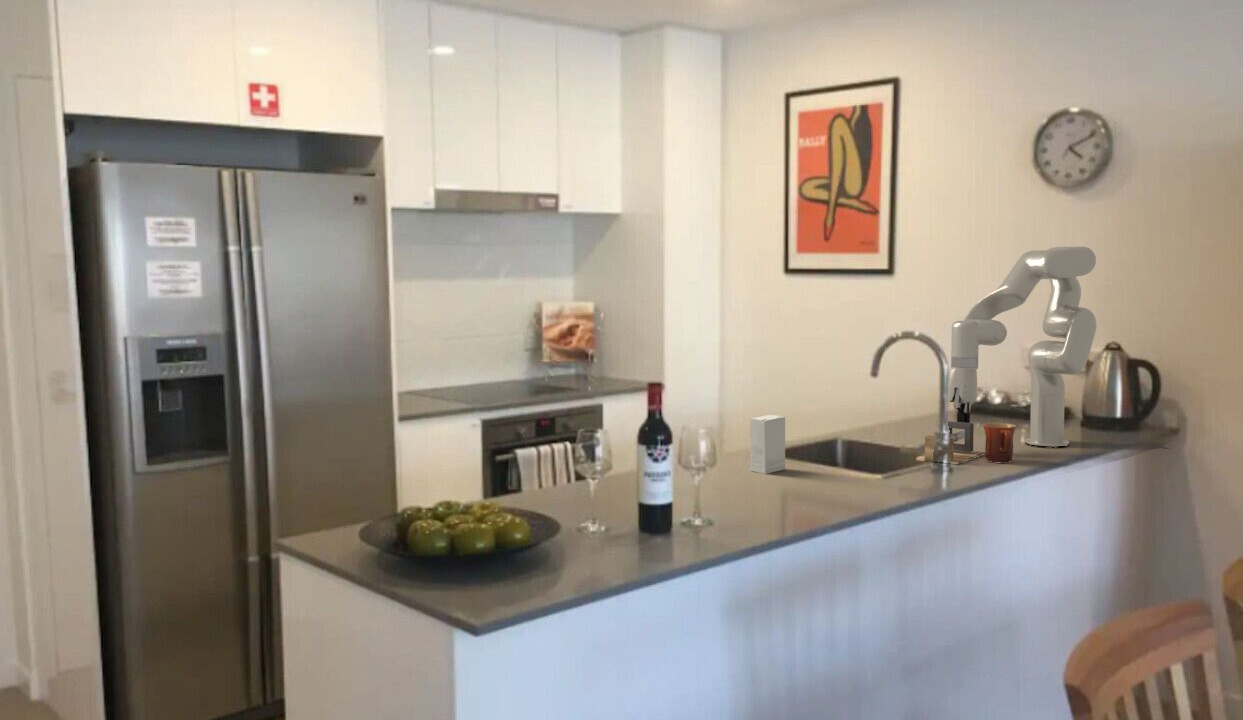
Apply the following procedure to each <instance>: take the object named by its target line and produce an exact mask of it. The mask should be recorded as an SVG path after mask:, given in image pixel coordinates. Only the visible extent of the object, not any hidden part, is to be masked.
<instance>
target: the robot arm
mask: <svg viewBox="0 0 1243 720" xmlns="http://www.w3.org/2000/svg"><path fill="white" fill-rule="evenodd" d="M1096 263H1097V257H1096V254H1095V253H1094V251H1093V249H1091V248H1089V247H1087V246H1055V247H1054V246H1053V247H1051V248H1048V249H1046V250H1045V249H1044V250H1029V251H1026V252H1024V253H1023V254H1022V255H1020V257H1019V258H1018V260H1017V261H1016V262H1015V264H1014V265H1013V267H1012V268H1011V270H1010V271H1009V273H1008V274H1007V276H1006V277H1005V278H1004V279H1003V281H1002V283H1001V284H1000V286H998V288H996V289H994V290H993V291H990V293H989V294H986V296H984V297H983V298H981V299H980V300H978V301H977V302H976V303H975V304H974V305H973V306H972V307H971V308H970V309H969V311H968V313H967V314H966V316H965V317H964V319H963V320H956V321H953V322H952V324H951V341H950V342H951V345H950V346H951V348H950V350H951V351H950V369H951V371H950V375H949V376H950V377H949V383H948V401H949V403H953V406H954V408H956V422H964V423H971V410H972V405H973V404H974V402H975V401H976V400H977V398H978V372H977V371H978V369H979V350H980V349H979V346H980V345H981V346H997V345H1000V344H1002V343H1003V342H1004V341H1005V339H1007V334H1008V330H1007V327H1006V325H1005V324H1004V323H1002V322H1001V321H999V320H996V319H994V318H995V317H997V316H998V315H1000V314H1002V313H1005V312H1007V311H1010V310H1013V309H1015V308H1018V307H1020V306H1022V305H1024V304H1025V302H1026V301H1027V300H1028V298H1029V297H1030V295H1031V294H1032V293H1033V291H1034V290H1035V288H1036V286H1037V285H1038V284H1039V282H1040V281H1042V280H1049V282H1050V294H1049V299H1048V303H1047V305H1046V310H1045V313H1044V317H1043V321H1042V331H1043V332H1044V334H1046V335H1047V336H1049V337H1052V338H1057V339H1065V340H1064V341H1058V340H1040V341H1038V342H1035V343H1033V344H1032V346H1030V348H1029V351H1028V354H1027V361H1028V366H1029V371H1030V421H1029V422H1030V426H1029V428H1030V429H1029V431H1030V432H1029V435H1030V436H1029V437H1028V438H1025V439H1024V443H1025V442H1027V443H1030V444H1034V445H1047V446H1048V445H1050V446H1052V445H1053V446H1056V445H1065V444H1069V445H1070V441H1069V440H1066V439H1064V436H1065V402H1066V399H1065V398H1066V397H1065V394H1066V387H1065V382H1064V379H1063V376H1062V375H1068V376H1069V375H1070V376H1072V375H1077V374H1079V373H1081V372H1082V371H1083V369H1085V367H1086V365H1087V362H1088V360H1089V357H1090V353H1091V349H1092V346H1093V342H1094V339H1095V334H1096V331H1097V321H1096V319H1097V318H1096V316H1095V315H1094V313H1093V312H1092V310H1090V308H1087V307H1082V306H1079V305H1080V301H1081V297H1082V287H1081V285H1080V282H1079V280H1078V278H1077V277H1081V276H1086V275H1088V274H1090V273H1092V272H1093V271H1094V269H1095V267H1096Z"/></svg>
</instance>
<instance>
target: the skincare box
mask: <svg viewBox="0 0 1243 720" xmlns="http://www.w3.org/2000/svg"><path fill="white" fill-rule="evenodd" d="M749 426H750V429H749V430H750V431H749V432H750V433H749V438H750V439H749V448H750V449H749V451H750V453H749V456H750V457H749V460H750V463H749V464H750V465H749V466H750V469H749V470H750V471H751V472H754V473H758V474H763V475H766V474H771V473H776V472H781V471H784V470H786V417H785V416H781V415H775V414H766V415H761V416H757V417H750V419H749Z"/></svg>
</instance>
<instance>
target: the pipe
mask: <svg viewBox="0 0 1243 720" xmlns="http://www.w3.org/2000/svg"><path fill="white" fill-rule="evenodd" d="M950 437H952V438H953V443H955V442H959V441H962V440H965V429H962V430H960V431H956V432H954V433H953V432H952V434H950Z"/></svg>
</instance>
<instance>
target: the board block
mask: <svg viewBox="0 0 1243 720" xmlns="http://www.w3.org/2000/svg"><path fill="white" fill-rule="evenodd" d="M935 436H936V435H926V436H925V437H924V454H923V455H920V456H917V457H916V459H915V460H916V461H919V462H928V463H933V462H932V459H933V452H934V446H935ZM953 443H954V442H953V438H952V437H950V458H951V462H953V463H956V464H958V463H961V462H964V461H966V460H969V459H972V458H974V457H977V456H980V455H982V454H985V451H981V450H980V451H979V450H973V451H971V452H965V451H955V450H953ZM972 460H973V459H972ZM964 463H965V462H964Z"/></svg>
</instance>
